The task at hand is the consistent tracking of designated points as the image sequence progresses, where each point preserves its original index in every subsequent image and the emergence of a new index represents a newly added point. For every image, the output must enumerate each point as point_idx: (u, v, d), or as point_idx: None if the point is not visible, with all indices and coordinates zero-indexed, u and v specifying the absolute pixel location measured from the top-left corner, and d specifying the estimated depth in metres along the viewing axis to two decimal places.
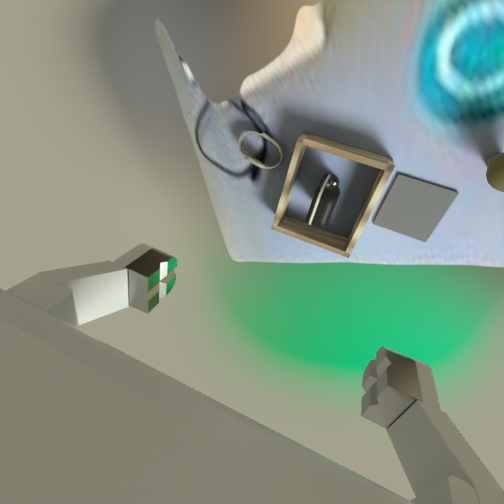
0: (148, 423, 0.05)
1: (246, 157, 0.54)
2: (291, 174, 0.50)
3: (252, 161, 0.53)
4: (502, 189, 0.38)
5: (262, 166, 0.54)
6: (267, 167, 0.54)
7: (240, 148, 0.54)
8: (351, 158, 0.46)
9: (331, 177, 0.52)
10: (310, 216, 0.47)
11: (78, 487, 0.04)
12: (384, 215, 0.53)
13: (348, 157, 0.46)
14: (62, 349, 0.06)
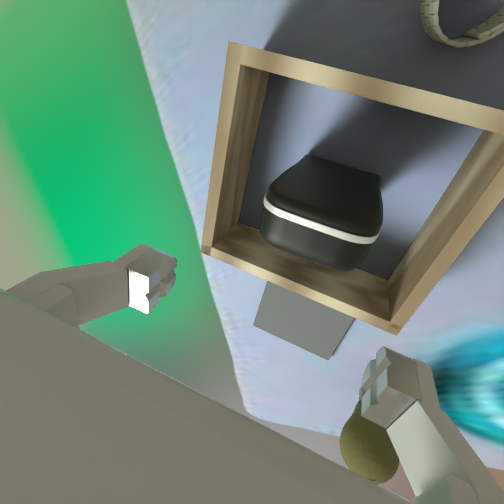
0: (148, 423, 0.05)
1: None
2: (417, 106, 0.15)
3: None
4: (346, 450, 0.28)
5: None
6: None
7: None
8: (432, 268, 0.19)
9: None
10: (290, 212, 0.15)
11: (78, 487, 0.04)
12: None
13: (437, 262, 0.19)
14: (61, 349, 0.06)
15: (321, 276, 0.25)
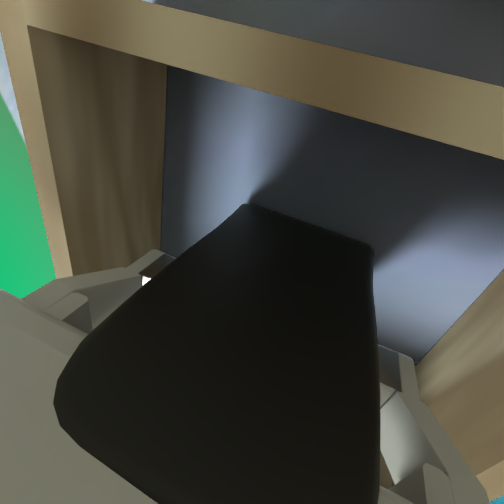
0: None
1: None
2: (484, 138, 0.05)
3: None
4: None
5: None
6: None
7: None
8: (488, 476, 0.09)
9: None
10: None
11: (79, 488, 0.04)
12: None
13: (500, 470, 0.08)
14: (62, 349, 0.06)
15: None
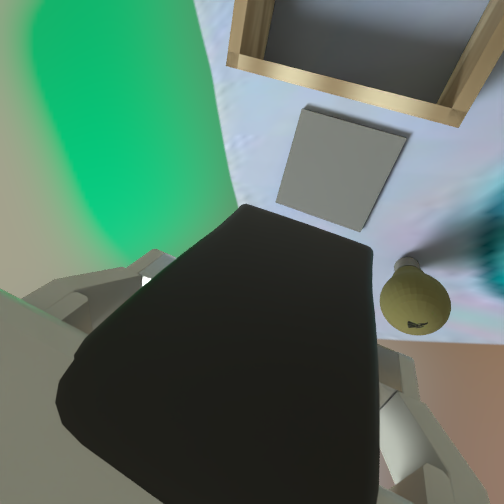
0: None
1: None
2: None
3: None
4: (390, 300, 0.25)
5: None
6: None
7: None
8: None
9: None
10: None
11: (78, 488, 0.04)
12: (320, 128, 0.28)
13: None
14: (61, 349, 0.06)
15: None
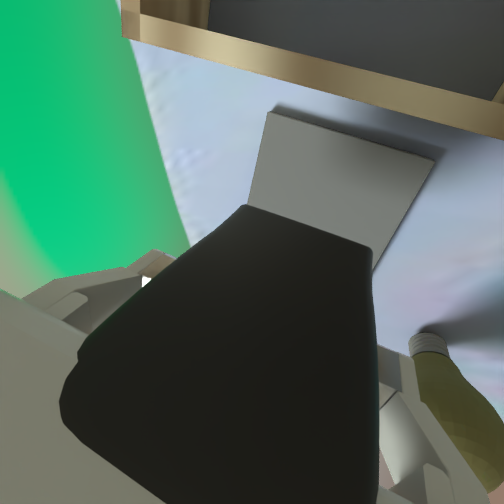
0: None
1: None
2: None
3: None
4: None
5: None
6: None
7: None
8: None
9: None
10: None
11: (78, 487, 0.04)
12: (296, 142, 0.18)
13: None
14: (62, 349, 0.06)
15: None
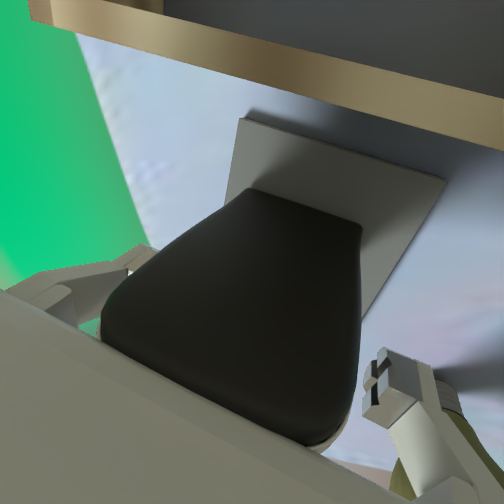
0: (148, 423, 0.05)
1: None
2: None
3: None
4: None
5: None
6: None
7: None
8: None
9: None
10: None
11: (79, 488, 0.04)
12: (275, 155, 0.14)
13: None
14: (62, 349, 0.06)
15: None
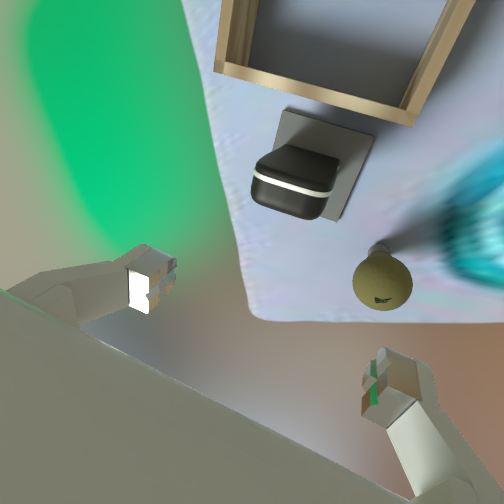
0: (148, 423, 0.05)
1: None
2: None
3: None
4: (360, 279, 0.28)
5: None
6: None
7: None
8: (450, 23, 0.19)
9: None
10: (271, 177, 0.23)
11: (78, 487, 0.04)
12: (299, 127, 0.31)
13: (455, 14, 0.19)
14: (61, 349, 0.06)
15: None
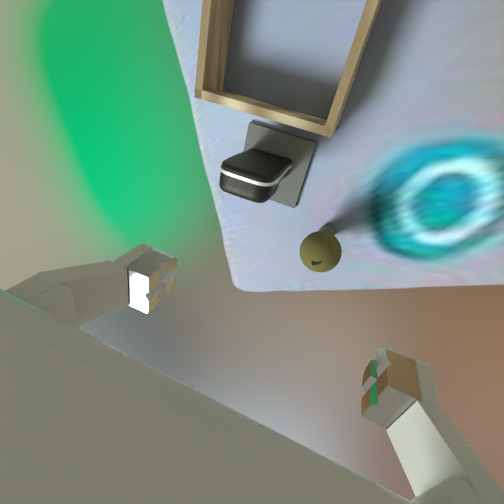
0: (148, 423, 0.05)
1: None
2: None
3: None
4: (303, 248, 0.38)
5: None
6: None
7: None
8: (345, 69, 0.29)
9: (287, 171, 0.40)
10: (231, 172, 0.33)
11: (79, 488, 0.04)
12: (261, 135, 0.41)
13: (348, 64, 0.29)
14: (61, 349, 0.06)
15: (281, 110, 0.35)
